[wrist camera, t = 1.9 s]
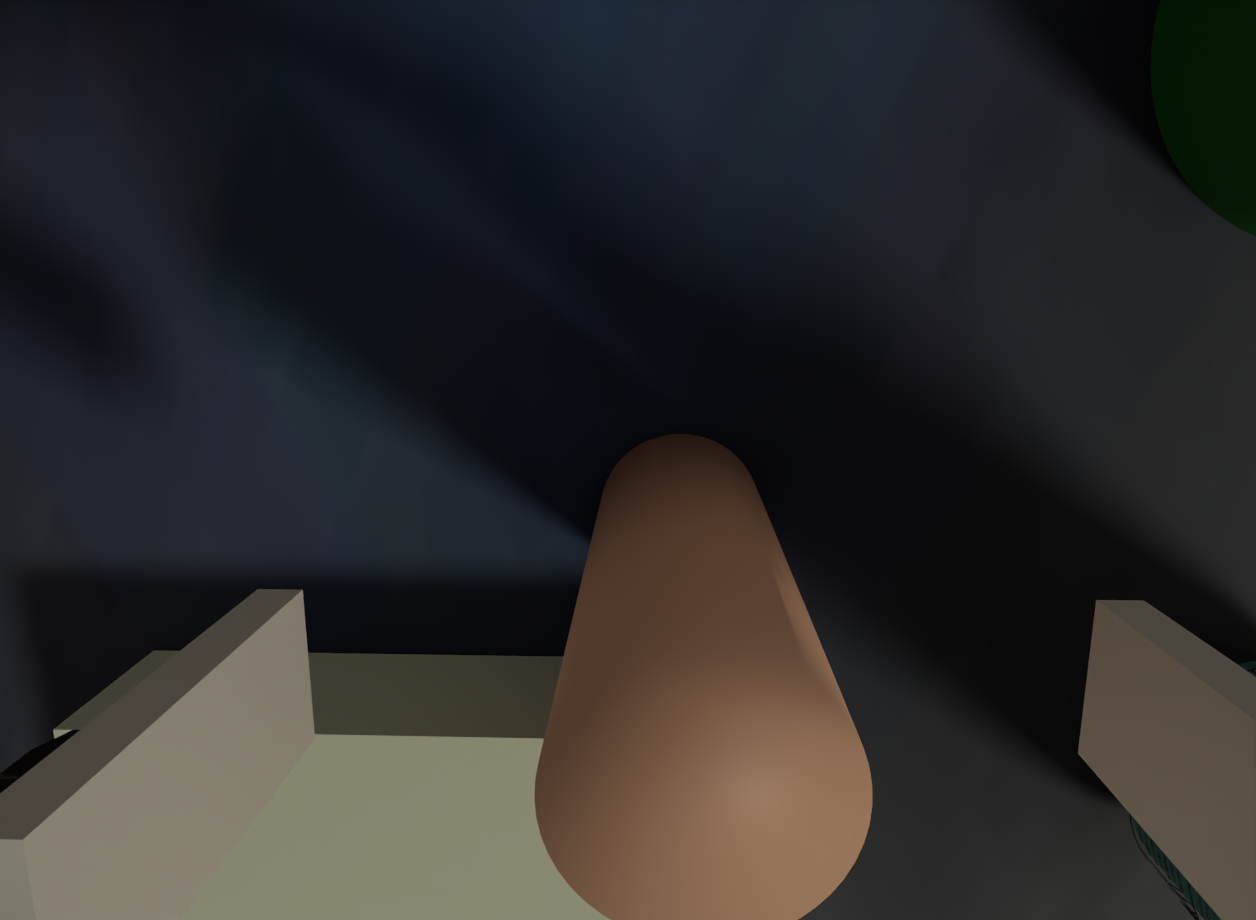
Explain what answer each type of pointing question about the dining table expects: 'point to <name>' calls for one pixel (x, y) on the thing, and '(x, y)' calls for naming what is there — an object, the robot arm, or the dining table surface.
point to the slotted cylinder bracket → (1209, 100)
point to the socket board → (398, 797)
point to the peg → (696, 709)
